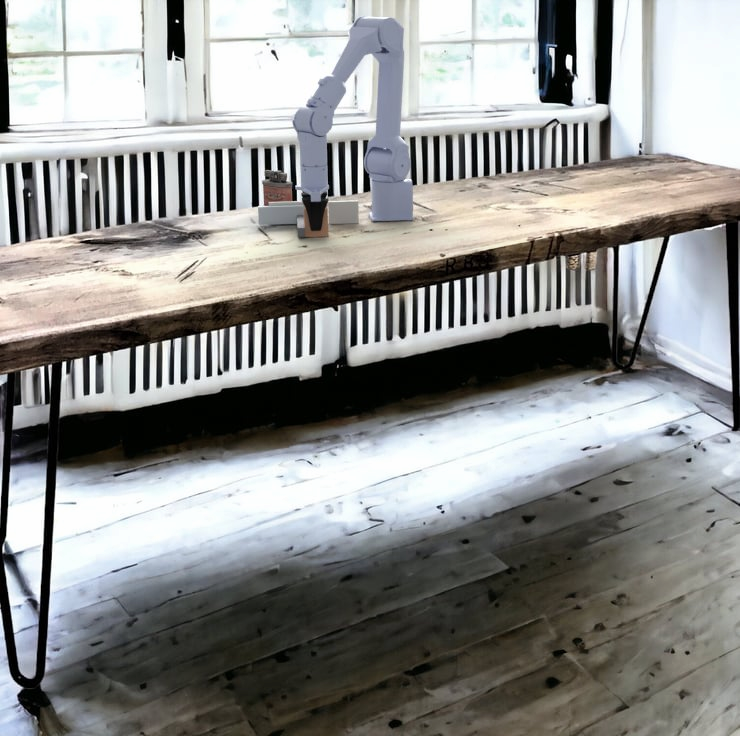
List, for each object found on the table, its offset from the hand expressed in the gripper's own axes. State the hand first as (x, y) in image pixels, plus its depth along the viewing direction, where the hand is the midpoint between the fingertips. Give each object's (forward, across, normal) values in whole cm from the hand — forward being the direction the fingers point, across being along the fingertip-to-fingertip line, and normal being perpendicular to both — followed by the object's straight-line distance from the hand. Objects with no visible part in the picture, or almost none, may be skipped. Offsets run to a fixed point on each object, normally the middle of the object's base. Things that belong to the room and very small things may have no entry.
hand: (315, 227), depth 223 cm
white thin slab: (+2, -10, 0) cm, 11 cm away
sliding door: (+1, -4, -7) cm, 8 cm away
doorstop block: (+1, 0, 0) cm, 1 cm away
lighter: (+2, -22, -8) cm, 23 cm away
